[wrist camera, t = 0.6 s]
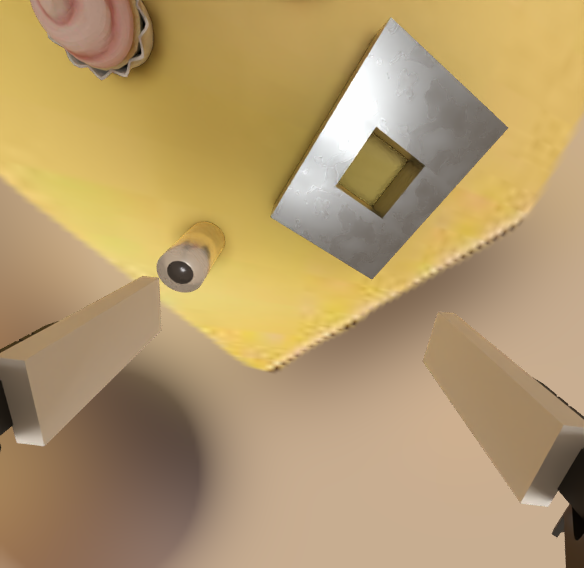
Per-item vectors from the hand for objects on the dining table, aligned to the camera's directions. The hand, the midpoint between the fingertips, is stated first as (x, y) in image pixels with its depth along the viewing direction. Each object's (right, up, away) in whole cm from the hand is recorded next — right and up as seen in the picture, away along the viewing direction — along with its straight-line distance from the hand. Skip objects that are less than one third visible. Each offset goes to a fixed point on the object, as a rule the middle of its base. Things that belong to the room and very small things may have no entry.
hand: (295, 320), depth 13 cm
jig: (+9, +16, +20) cm, 27 cm away
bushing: (-12, +8, +25) cm, 29 cm away
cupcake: (-17, +27, +15) cm, 35 cm away
